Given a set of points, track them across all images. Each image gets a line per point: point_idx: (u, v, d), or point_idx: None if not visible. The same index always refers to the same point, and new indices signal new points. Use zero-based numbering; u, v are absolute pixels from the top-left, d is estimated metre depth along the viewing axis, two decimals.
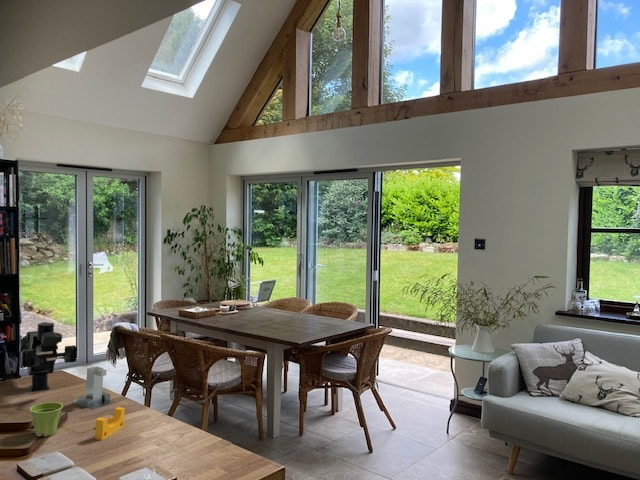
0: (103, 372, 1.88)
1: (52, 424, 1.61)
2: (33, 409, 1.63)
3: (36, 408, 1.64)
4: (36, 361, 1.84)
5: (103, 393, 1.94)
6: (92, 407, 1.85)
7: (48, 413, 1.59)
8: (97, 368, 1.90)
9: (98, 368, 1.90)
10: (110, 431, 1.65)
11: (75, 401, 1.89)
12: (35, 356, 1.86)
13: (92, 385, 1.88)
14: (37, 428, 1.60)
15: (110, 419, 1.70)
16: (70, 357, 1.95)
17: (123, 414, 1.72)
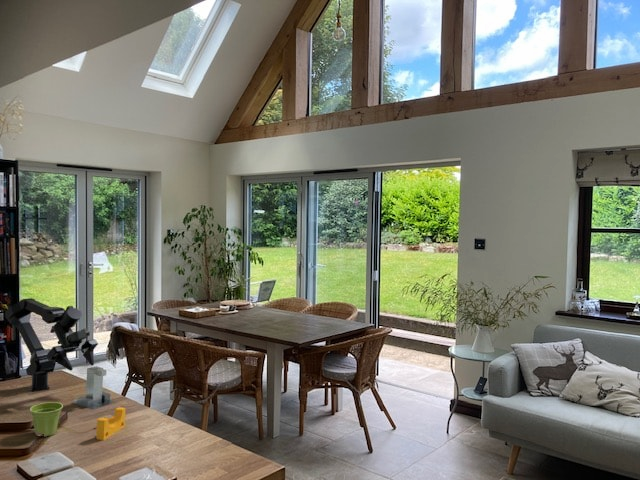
0: (103, 372, 1.88)
1: (52, 424, 1.61)
2: (33, 409, 1.63)
3: (36, 408, 1.64)
4: (67, 364, 1.89)
5: (103, 393, 1.94)
6: (92, 407, 1.85)
7: (48, 413, 1.59)
8: (97, 368, 1.90)
9: (98, 368, 1.90)
10: (111, 431, 1.64)
11: (75, 401, 1.89)
12: (66, 357, 1.90)
13: (92, 385, 1.88)
14: (37, 428, 1.60)
15: (111, 419, 1.70)
16: None
17: (124, 414, 1.72)
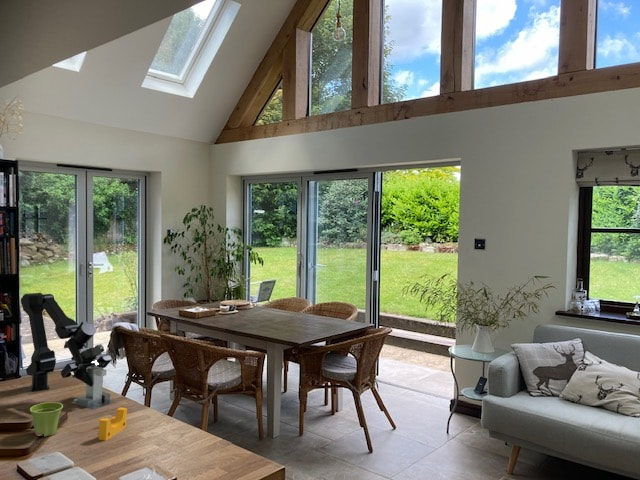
0: (103, 372, 1.88)
1: (52, 424, 1.61)
2: (33, 409, 1.63)
3: (36, 408, 1.64)
4: (87, 380, 1.88)
5: (103, 393, 1.94)
6: (92, 407, 1.85)
7: (48, 413, 1.59)
8: (97, 368, 1.90)
9: (98, 368, 1.90)
10: (113, 431, 1.64)
11: (75, 401, 1.89)
12: (86, 373, 1.88)
13: None
14: (37, 428, 1.60)
15: (112, 419, 1.70)
16: None
17: (126, 414, 1.72)
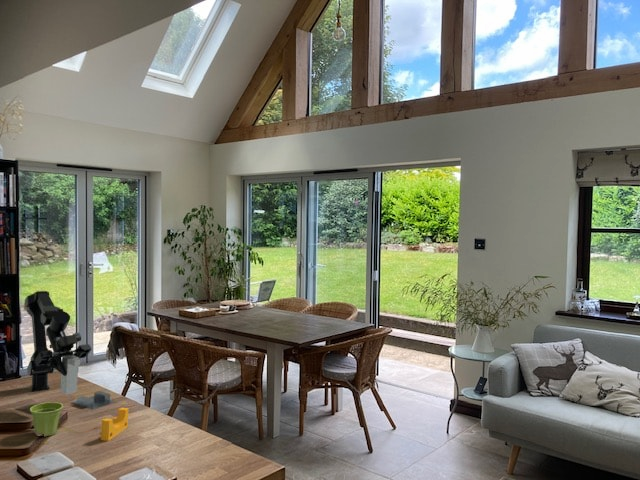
0: (76, 362, 1.81)
1: (52, 424, 1.61)
2: (33, 409, 1.63)
3: (36, 408, 1.64)
4: (61, 369, 1.82)
5: (103, 393, 1.94)
6: (92, 407, 1.85)
7: (48, 413, 1.59)
8: (72, 357, 1.84)
9: (73, 357, 1.84)
10: (115, 431, 1.64)
11: (75, 401, 1.89)
12: (60, 362, 1.83)
13: (66, 374, 1.82)
14: (37, 428, 1.60)
15: (114, 420, 1.69)
16: None
17: (127, 414, 1.72)
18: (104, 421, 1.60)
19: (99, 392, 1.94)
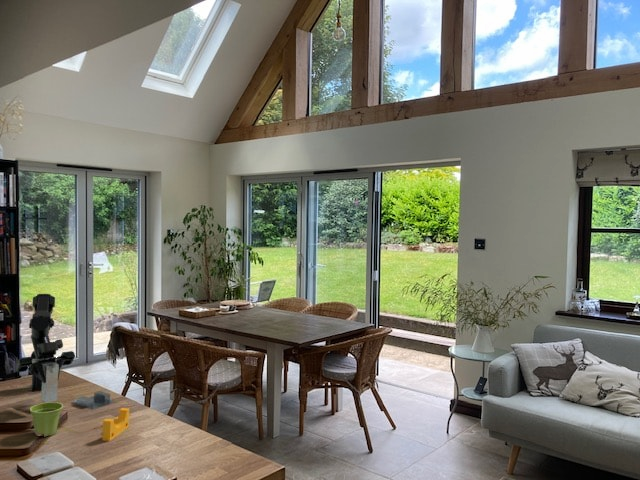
0: (54, 369, 1.78)
1: (52, 424, 1.61)
2: (33, 409, 1.63)
3: (36, 408, 1.64)
4: (40, 376, 1.80)
5: (103, 393, 1.94)
6: (92, 407, 1.85)
7: (48, 413, 1.59)
8: (52, 364, 1.82)
9: (53, 364, 1.82)
10: (116, 432, 1.64)
11: (75, 401, 1.89)
12: (40, 369, 1.81)
13: (45, 382, 1.80)
14: (37, 428, 1.60)
15: (115, 420, 1.69)
16: None
17: (128, 414, 1.72)
18: (105, 421, 1.60)
19: (99, 392, 1.94)
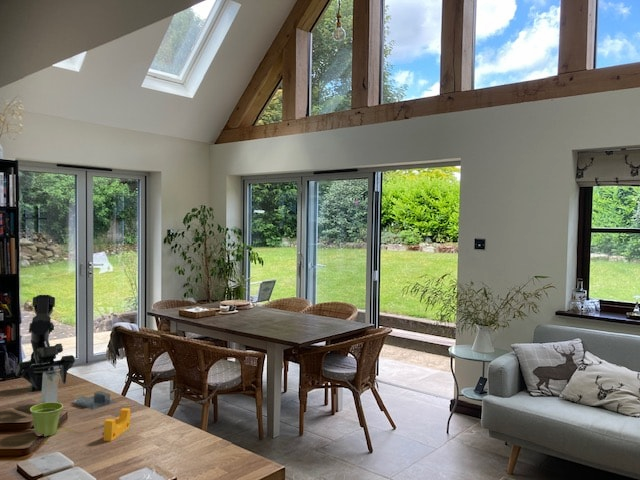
0: (55, 377, 1.78)
1: (52, 424, 1.61)
2: (33, 409, 1.63)
3: (36, 408, 1.64)
4: (33, 382, 1.78)
5: (103, 393, 1.94)
6: (92, 407, 1.85)
7: (48, 413, 1.59)
8: (52, 372, 1.82)
9: (53, 373, 1.82)
10: (118, 432, 1.64)
11: (75, 401, 1.89)
12: (32, 374, 1.79)
13: (45, 390, 1.80)
14: (37, 428, 1.60)
15: (116, 420, 1.69)
16: None
17: (129, 415, 1.72)
18: (107, 421, 1.60)
19: (99, 392, 1.94)
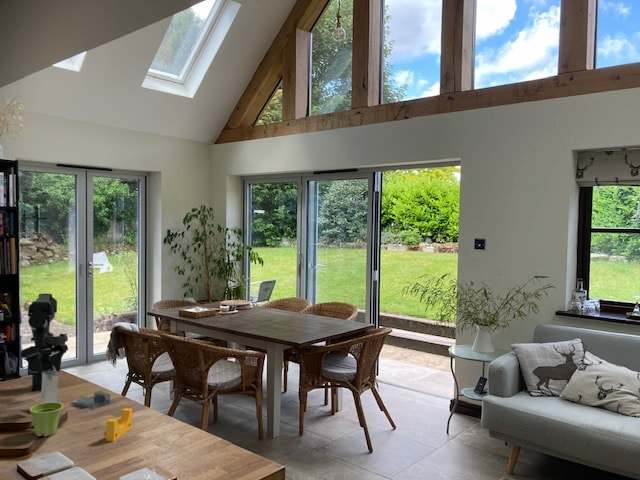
0: (54, 377, 1.78)
1: (52, 424, 1.61)
2: (33, 409, 1.63)
3: (36, 408, 1.64)
4: (38, 367, 1.86)
5: (103, 393, 1.94)
6: (92, 407, 1.85)
7: (48, 413, 1.59)
8: (52, 373, 1.82)
9: (53, 373, 1.82)
10: (120, 432, 1.64)
11: (75, 401, 1.89)
12: (39, 360, 1.86)
13: (45, 390, 1.80)
14: (37, 428, 1.60)
15: (118, 420, 1.69)
16: None
17: (131, 415, 1.71)
18: (109, 422, 1.60)
19: (99, 392, 1.94)
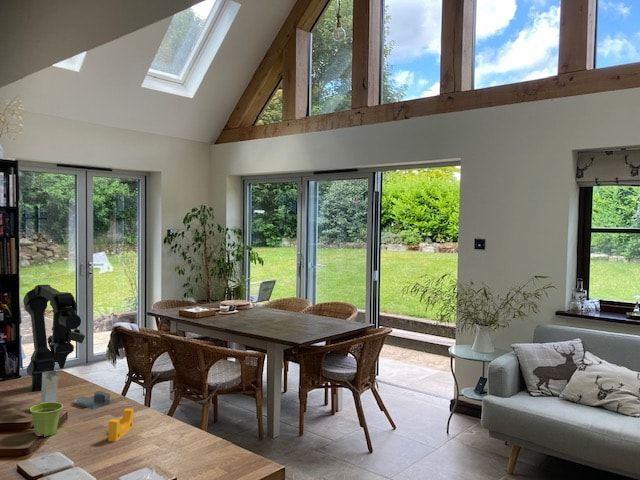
0: (54, 377, 1.78)
1: (52, 424, 1.61)
2: (33, 409, 1.63)
3: (36, 408, 1.64)
4: (63, 362, 1.90)
5: (103, 393, 1.94)
6: (92, 407, 1.85)
7: (48, 413, 1.59)
8: (52, 373, 1.82)
9: (53, 373, 1.82)
10: (122, 432, 1.64)
11: (75, 401, 1.89)
12: None
13: (45, 390, 1.80)
14: (37, 428, 1.60)
15: (119, 420, 1.69)
16: None
17: (132, 415, 1.71)
18: (111, 422, 1.60)
19: (99, 392, 1.94)
